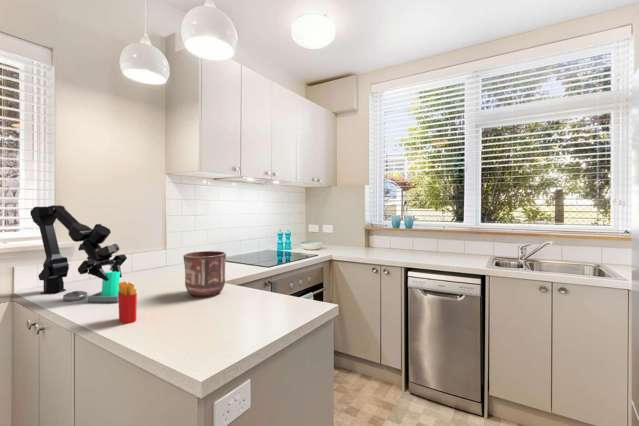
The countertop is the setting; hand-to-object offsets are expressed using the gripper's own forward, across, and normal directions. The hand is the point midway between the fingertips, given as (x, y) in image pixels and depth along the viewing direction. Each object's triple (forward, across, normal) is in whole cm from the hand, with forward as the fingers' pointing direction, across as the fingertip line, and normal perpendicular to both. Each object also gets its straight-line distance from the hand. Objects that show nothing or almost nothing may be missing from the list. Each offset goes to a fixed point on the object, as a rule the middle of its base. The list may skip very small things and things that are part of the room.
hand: (114, 278), depth 134 cm
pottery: (+28, +18, -16) cm, 37 cm away
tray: (+5, 0, +7) cm, 9 cm away
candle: (+5, -1, +6) cm, 8 cm away
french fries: (+25, -18, -13) cm, 33 cm away
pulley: (-5, -5, +17) cm, 18 cm away
